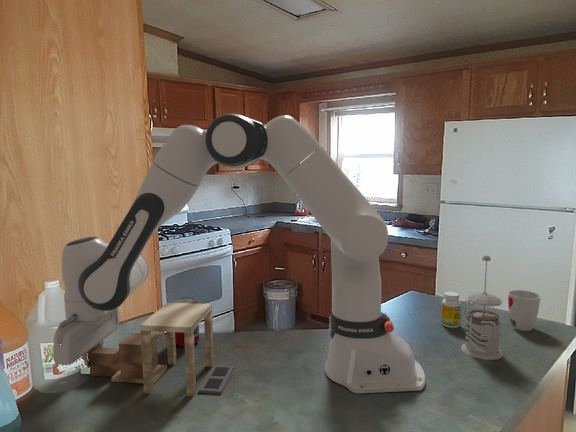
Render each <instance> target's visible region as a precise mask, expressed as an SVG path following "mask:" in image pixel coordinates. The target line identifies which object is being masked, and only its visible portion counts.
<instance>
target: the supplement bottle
mask: <svg viewBox="0 0 576 432" xmlns="http://www.w3.org/2000/svg"><path fill="white" fill-rule="evenodd" d="M443 296H444V299H442V301H441V314H440V315H441V317H440V318H441V320H440V323H441V325H442V326H443V327H446V328H451V329H455V328H456V329H457V328H459V327H460V326H461V321H462V320H461V317H462V315H461V316H460V307H461V305H462V302H461V301H460V293H458V292H455V291H446V292H444V295H443ZM461 308H462V307H461Z"/></svg>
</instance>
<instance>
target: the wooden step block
mask: <svg viewBox="0 0 576 432" xmlns="http://www.w3.org/2000/svg"><path fill="white" fill-rule="evenodd" d="M157 343H158V341H157V333H151V346H152V364H153V382H154V384H156V382H157V381H158V380H159V379H160V377H161V376H162V375H163V374H164V373H165V372H166V371H167V369H168V364H167V365H165V364H159V361H158V344H157ZM87 353H88V359H89V360H90V361H91V363H90V364H91V366H90V374H91V375H90V376H99V377H111V380H110V381H111V382H113V383H114V382H116V383H130V384H131V383H132V384H144V382H143V366H142V349H141V332H131V333H129V334H128V335H127V336H126V337H124V339H122V341H120V342H119V343H118V348H117V347H116V348H115V347H102V348H101V347H93V348H92V349H91V350H89V351H88V352H87Z"/></svg>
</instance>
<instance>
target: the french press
mask: <svg viewBox="0 0 576 432" xmlns="http://www.w3.org/2000/svg"><path fill="white" fill-rule="evenodd" d="M491 259H492V258H491V256H489V255H484V256H483V257H482V259H481V260H482V261H484V262H485V275H484V276H485V277H484V289H483V290H484V292H483V291H480V292H479V291H478V292H473V293H471V294H469V295H467V297H466V298H467V299H466V300H464V301H463V302H461V307H460V316H461V320H460V321H461V322H462V323H463V324H464V326H465V343H463V344H462V345H461V347H460V349H461V350H462V352H463V353H464V354H466V355H467V356H469V357H472V358H474V359H475V358H476V359H479V360H487V361H493V360H499V359H501V358H502V357H503V355H504V353H503V352H502V351H501V349H500V347H499V346H500V332H501V321H500V320H499V319H500V316H499V315H498V314H497V313H496V312H492V311H489V310H485V309H486V308H485V307H499V306H501V305H502V304H503V300H502V299H501V298H500V297H498V296H497V295H495V294H492V293H490V292H486V287H487V286H486V285H487V269H488V267H487V266H488V262H491ZM465 302H466V303H465ZM464 303H465V304H464ZM471 303H472V304H471ZM463 305H464V316H465V319H466V323H465V322H464V320H463V318H462V307H463ZM467 305H469V307H470V306H474V305H479V306H483V309H471V310H469V311H468V313H467V312H466V311H467ZM467 314H468V316H467ZM491 322H493V323H491ZM485 335H487V336H485Z"/></svg>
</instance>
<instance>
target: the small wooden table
mask: <svg viewBox="0 0 576 432" xmlns="http://www.w3.org/2000/svg"><path fill="white" fill-rule="evenodd" d="M212 306H213V304H212V303H175V302H167V303H165V304H163V306H162V307H161V308H159V309H158V310H156V311H155V312H154V313H153V314H152V315H151V316H149V317H148V318H147V319H146V320H144V321H143V322H142V323H141V324H140V325H139V328H140V329H139V330H140V332H139V333H141V349H142V366H143V382H144V383H143V393H144V394H150V395H151V394H152V393H153V391H154V390H155V383H154V382H153V364H152V346H151V334H152V332H163V333H164V332H165V333H166V347H167V350H166V351H167V366H175V365H176V363H177V349H176V348H177V347H176V345H177V344H176V343H175V332H183V333H184V341H185V347H184V359H185V360H184V361H185V383H186V396H187V397H195V395H196V393H197V380H196V379H197V378H196V355H195V354H196V353H195V352H196V351H195V344H194V329H195V328H196V327H197V326H198V324H199V325H200V323H201V322H202V321H203V322H204V324H203V325H204V326H203V327H204V328H203V329H204V351H205V352H204V353H205V367H206V368H212V367H213V366H214V365H215V357H214V332H213V331H214V329H213V307H212Z"/></svg>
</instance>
